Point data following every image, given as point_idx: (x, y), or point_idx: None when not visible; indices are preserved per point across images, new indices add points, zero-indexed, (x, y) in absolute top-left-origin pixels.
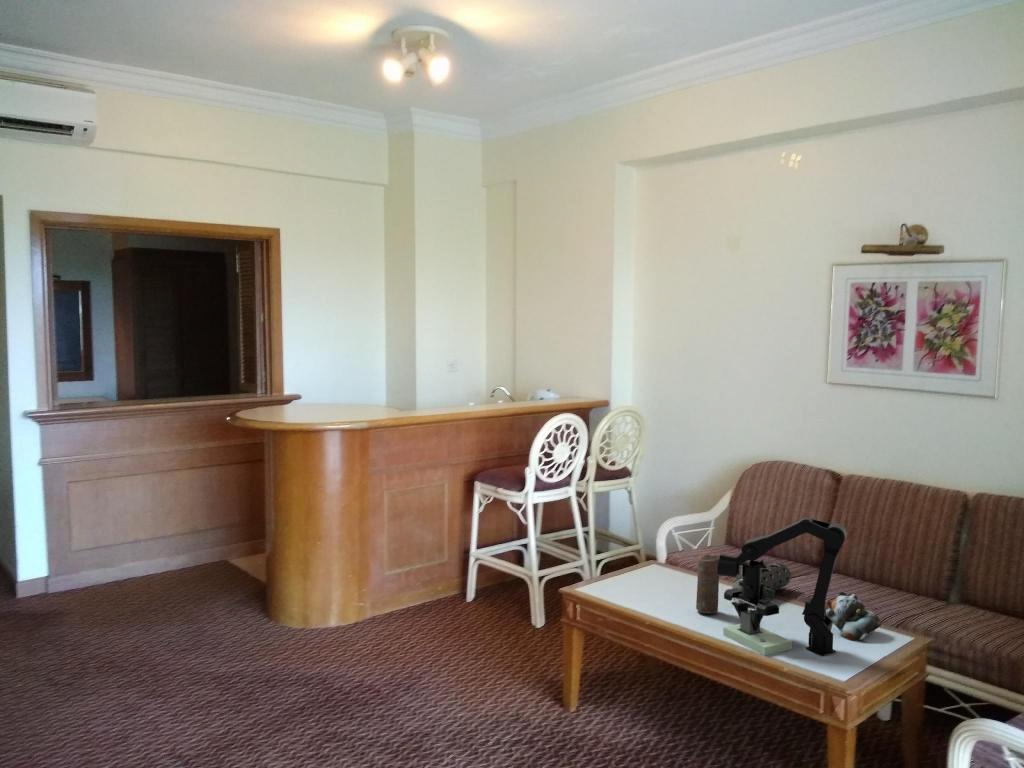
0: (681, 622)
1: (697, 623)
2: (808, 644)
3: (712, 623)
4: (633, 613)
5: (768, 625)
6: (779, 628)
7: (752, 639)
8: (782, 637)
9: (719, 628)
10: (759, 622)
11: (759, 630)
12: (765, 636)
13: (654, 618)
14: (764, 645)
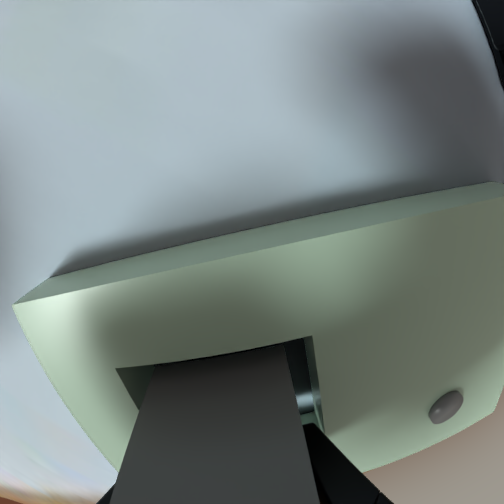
0: (30, 476)
1: (22, 450)
2: (501, 49)
3: (2, 407)
4: (9, 498)
5: (11, 74)
6: (81, 8)
7: (390, 451)
8: (478, 211)
9: (55, 425)
10: (369, 487)
11: (291, 379)
12: (401, 359)
13: (24, 495)
14: (482, 409)
